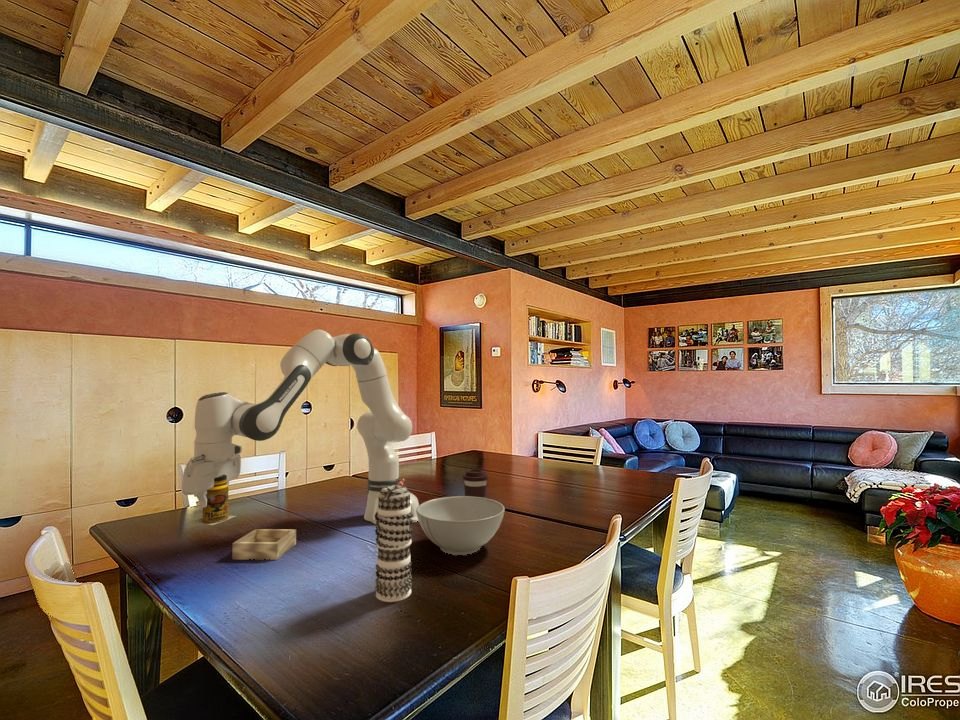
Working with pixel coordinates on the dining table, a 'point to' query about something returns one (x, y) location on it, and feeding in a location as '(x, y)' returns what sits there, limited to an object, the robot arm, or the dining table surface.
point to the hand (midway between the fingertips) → (212, 502)
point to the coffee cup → (475, 483)
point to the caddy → (264, 544)
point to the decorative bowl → (460, 522)
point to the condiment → (216, 503)
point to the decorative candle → (393, 544)
